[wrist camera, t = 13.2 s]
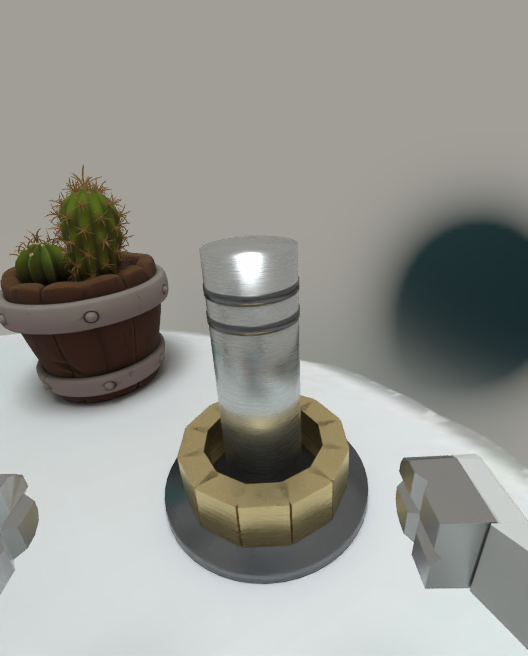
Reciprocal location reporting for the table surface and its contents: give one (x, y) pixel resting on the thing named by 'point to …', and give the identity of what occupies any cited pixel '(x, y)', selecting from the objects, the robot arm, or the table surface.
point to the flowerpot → (87, 302)
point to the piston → (256, 353)
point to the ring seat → (267, 502)
